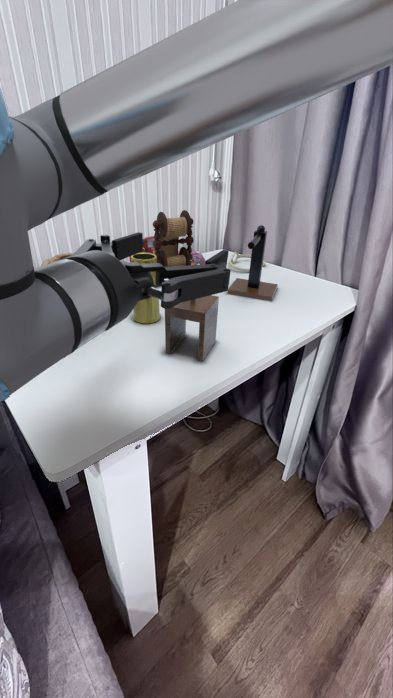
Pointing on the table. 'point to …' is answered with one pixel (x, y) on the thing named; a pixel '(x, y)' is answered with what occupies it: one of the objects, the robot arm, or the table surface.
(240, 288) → the rack
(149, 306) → the vase
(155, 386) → the table surface
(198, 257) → the video game controller
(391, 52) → the robot arm
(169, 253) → the scroll
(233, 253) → the headband
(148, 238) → the toy fire truck
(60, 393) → the table surface
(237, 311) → the table surface
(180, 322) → the wooden stand with peg
